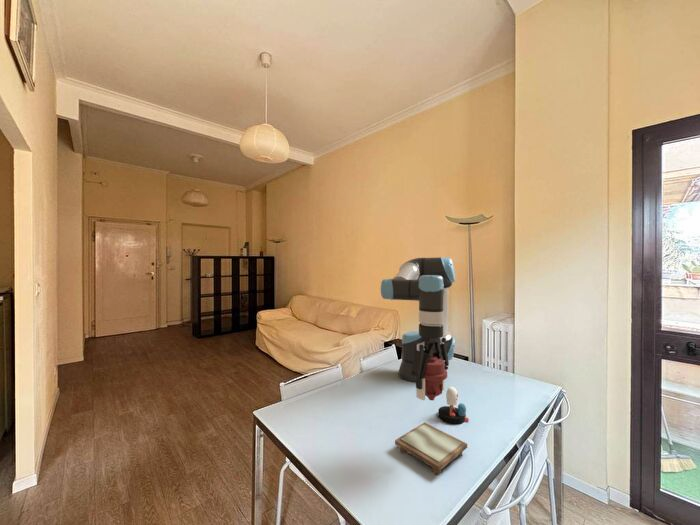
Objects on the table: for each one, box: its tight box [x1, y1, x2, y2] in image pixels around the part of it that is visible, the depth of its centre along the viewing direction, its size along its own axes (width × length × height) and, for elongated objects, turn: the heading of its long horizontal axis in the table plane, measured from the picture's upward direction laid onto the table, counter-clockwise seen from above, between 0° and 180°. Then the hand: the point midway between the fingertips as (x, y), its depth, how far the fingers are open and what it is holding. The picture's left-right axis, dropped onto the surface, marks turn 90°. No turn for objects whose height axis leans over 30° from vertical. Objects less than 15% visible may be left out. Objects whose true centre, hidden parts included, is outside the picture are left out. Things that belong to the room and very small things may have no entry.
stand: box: [394, 421, 468, 475], centre depth 92 cm, size 16×16×4 cm
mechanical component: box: [420, 355, 448, 401], centre depth 92 cm, size 12×10×10 cm
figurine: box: [437, 386, 470, 426], centre depth 112 cm, size 10×11×12 cm
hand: (430, 393), depth 92 cm, fingers closed on mechanical component, 10 cm apart
